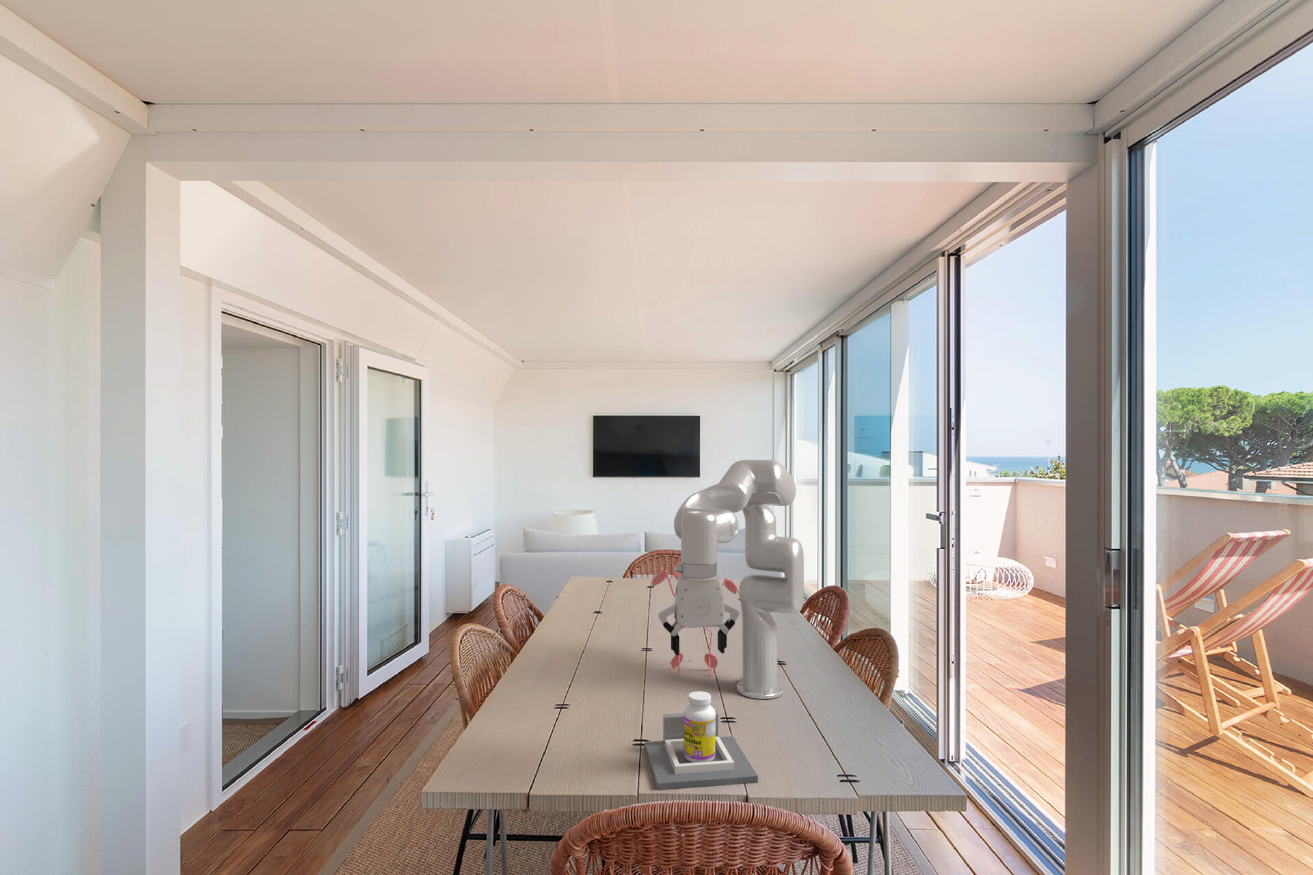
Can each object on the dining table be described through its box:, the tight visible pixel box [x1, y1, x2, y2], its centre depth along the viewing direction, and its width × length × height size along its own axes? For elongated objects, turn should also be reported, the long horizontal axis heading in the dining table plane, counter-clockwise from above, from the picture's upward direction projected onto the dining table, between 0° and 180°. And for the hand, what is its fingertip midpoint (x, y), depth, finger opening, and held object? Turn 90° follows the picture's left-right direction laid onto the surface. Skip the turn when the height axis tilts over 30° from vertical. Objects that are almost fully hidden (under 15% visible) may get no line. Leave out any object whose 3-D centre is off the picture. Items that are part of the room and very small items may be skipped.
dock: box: [644, 710, 759, 791], centre depth 131 cm, size 18×20×7 cm
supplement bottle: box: [683, 690, 716, 763], centre depth 131 cm, size 7×7×13 cm
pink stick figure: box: [651, 560, 738, 677], centre depth 192 cm, size 15×26×35 cm, turn 89°
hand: (698, 652), depth 131 cm, fingers open, 9 cm apart
